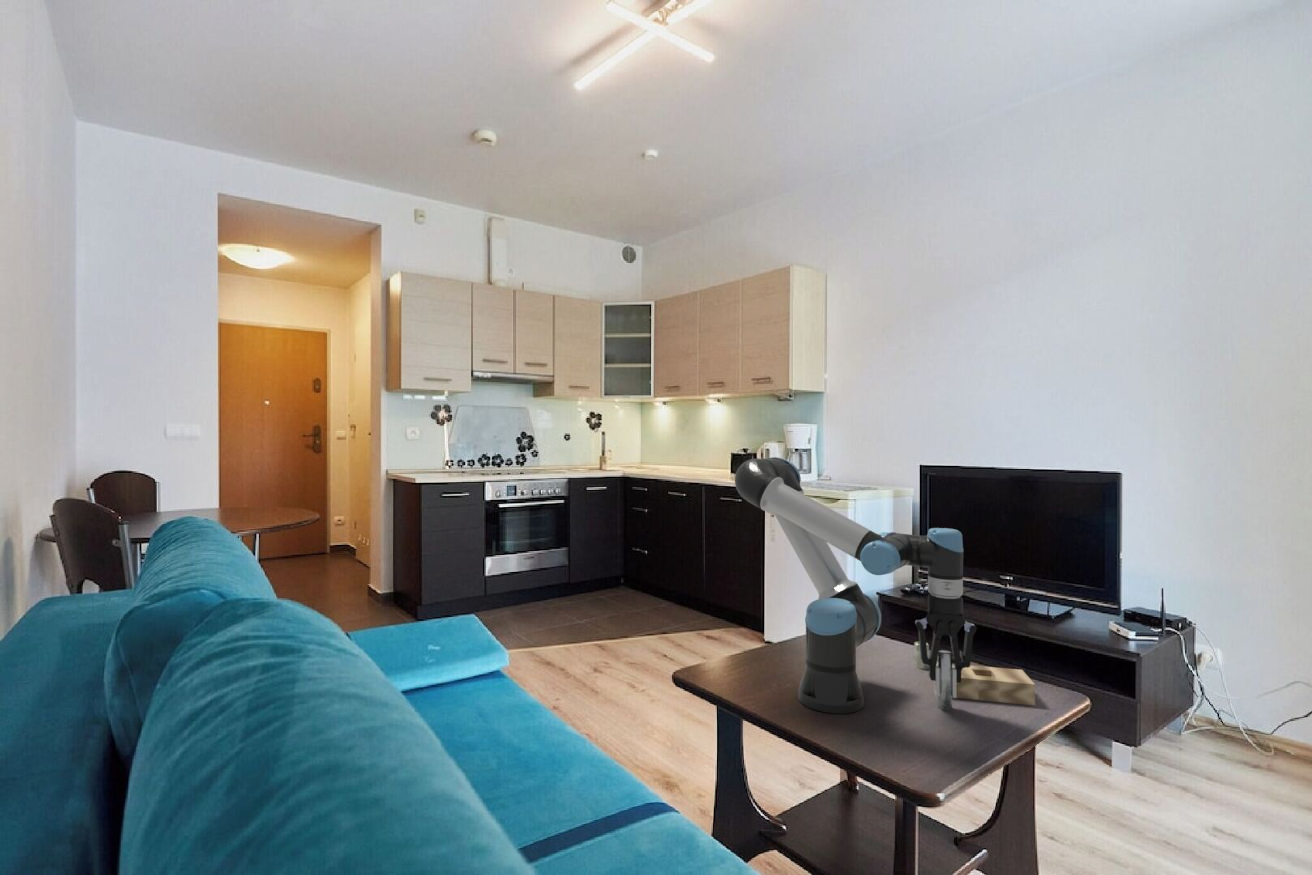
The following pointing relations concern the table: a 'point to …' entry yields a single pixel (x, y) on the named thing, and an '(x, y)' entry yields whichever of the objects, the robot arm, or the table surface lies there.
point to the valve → (918, 655)
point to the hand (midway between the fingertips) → (945, 694)
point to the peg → (945, 680)
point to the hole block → (996, 685)
